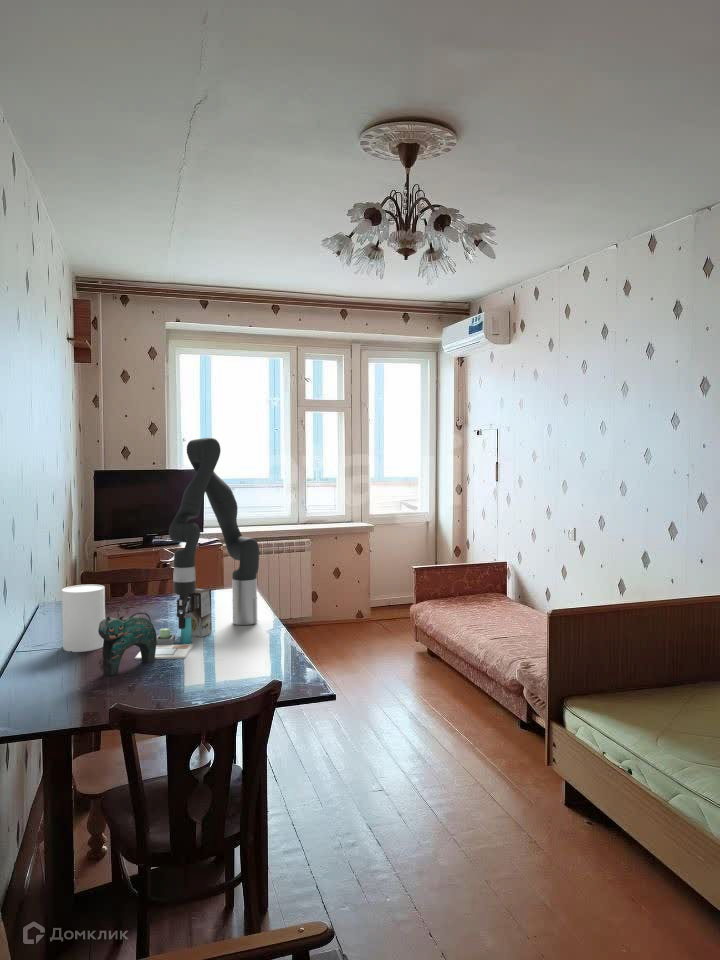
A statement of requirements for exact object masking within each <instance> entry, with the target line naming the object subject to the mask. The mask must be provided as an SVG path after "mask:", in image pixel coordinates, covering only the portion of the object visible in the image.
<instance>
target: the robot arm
mask: <svg viewBox="0 0 720 960" xmlns="http://www.w3.org/2000/svg"><path fill="white" fill-rule="evenodd" d="M221 450H222V449H221V445H220V443H219V441H218V439H216V438H214V437H203V438H195V439H192V440H190V441H189V442H187V445H186V454H187V458H188V460H189V463H190V464H191V466H192V468H193V469H194V471H195V473H196V474H195V475H194V477H193V478H192V479H191V480H190V482H189V483H188V485H187V487H186V488H185V490H184V492H183V496H182V499H181V502H180V507H179V509H178V511H177V513H176V514H175V516H174V518H173V520H172V521H171V523H170V525H169V528H168V536H169V539H170V540H171V541H172V542H174V543H185V546H184V548H179V549H176V550H175V551H174V554H173V573H172V576H173V579H172V580H173V583H172V584H173V586H172V589H173V590H172V592H173V594H175V595H179V597H178V599H176V618H178V629H179V630H181V629H184V628H185V617H186V613H190V611H191V608H192V606H191V595H192V594H193V593H195V588H196V558H195V557H196V552H197V546H198V544H199V541H200V536H201V530H200V526H199V525H198V524H197V523H196V522H189V521H190V520H193V519H196V518H198V517H199V516H200V514H201V509H202V506H203V501H204V498H205V497H204V496H205V494H206V496H207V499H208V502H209V504H210V507H211V509H212V511H213V514H214V516H215V518H216V521H217V523H218V525H219V527H220V528H219V529H220V530H221V533H222V536H223V539H224V543H225V546H226V550H227V553H228V555H229V556H230V557H231V558H232V559H233V560H235V561H239V566H238V569H236V570H234V571H233V572H232V576H231V577H232V579H231V581H232V582H231V583H232V584H231V585H232V586H231V587H232V623H233V624H234V625H236V626H237V625H238V626H248V625H249V626H250V625H257V622H258V595H257V594H258V593H257V592H258V590H257V589H258V586H257V584H258V583H257V582H258V581H257V574H258V571H259V563H260V546H259V543H258V542H257V540H256V539H254V538H252V537H248V536H247V537H246V536H243V535H242V533H241V531H240V528H239V526H238V522H237V518H238V511H239V510H238V502H237V500H236V498H235V495H234V492H233V491H232V489H231V487H230V486H229V485H228V484H227V483H226V482H225V481H224V480H223V479H222V478H221V477H220V476H219V475H218V474H217V473H216V472H215V469H216V466H217V464H218V462H219V458H220V456H221ZM182 612H183V614H182Z"/></svg>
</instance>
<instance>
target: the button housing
mask: <svg viewBox="0 0 720 960" xmlns="http://www.w3.org/2000/svg"><path fill="white" fill-rule="evenodd" d="M156 637H157V644H156V645H175V642H176V634H170V639H160V637H159V634H156Z"/></svg>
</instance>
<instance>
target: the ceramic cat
mask: <svg viewBox="0 0 720 960" xmlns="http://www.w3.org/2000/svg"><path fill="white" fill-rule="evenodd" d="M123 607H125V608H127V610H128V609H129V606H128V605H125V604H124V605H121V606H119V607H118V609H117V617H118V618H116V617H110V616H107V617H105V619H103V620H102V621H101V622H100V624H99V630H98V632H99V635H100V636H101V637H102V638H103V639H104V642H103V647H102V672H103V673H102V674H103V675H105V674H106V675H105V676H109V675H110V677H112V676H116V675H118V674H119V670H120V669H119V668H120V663H121V660H122V658H123V655H124V654H125V652H126V650H127V649H129V648H131V647H133V646H136V647H137V648H139V652H140V651H141V657H142V659H141V662H142V663H145V664H149V663H153V662H155V660H156V659H155V652H156V644H157V631H156V629H155V627H154V625H153V623H152V620H151V618H150V617H151V616H150V615H149V613H147V612H135V613H134V614H132V615H130V616H128V617H126V618H124V615H122V616H121V615H120V614H119V612H120V610H121V609H122V608H123ZM136 615H145V616H147V617H148V618H146V617H143V616H142V617H141V616H136ZM115 674H116V675H115ZM111 675H112V676H111Z"/></svg>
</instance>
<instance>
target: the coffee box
mask: <svg viewBox="0 0 720 960" xmlns="http://www.w3.org/2000/svg"><path fill="white" fill-rule="evenodd" d="M191 606H192V608H191V611H190V613H191V637H200V638H203V637H205V636H209V635H211V634H212V633H213V632H212V631H213V628H212V623H213V622H212V620H213V619H212V589H208V588H196V587H195V593H193V594H192V595H191ZM182 613H183V612H181V614H182Z"/></svg>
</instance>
